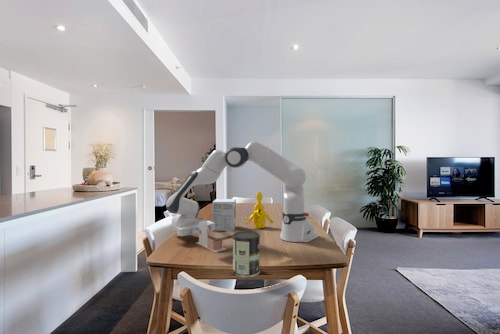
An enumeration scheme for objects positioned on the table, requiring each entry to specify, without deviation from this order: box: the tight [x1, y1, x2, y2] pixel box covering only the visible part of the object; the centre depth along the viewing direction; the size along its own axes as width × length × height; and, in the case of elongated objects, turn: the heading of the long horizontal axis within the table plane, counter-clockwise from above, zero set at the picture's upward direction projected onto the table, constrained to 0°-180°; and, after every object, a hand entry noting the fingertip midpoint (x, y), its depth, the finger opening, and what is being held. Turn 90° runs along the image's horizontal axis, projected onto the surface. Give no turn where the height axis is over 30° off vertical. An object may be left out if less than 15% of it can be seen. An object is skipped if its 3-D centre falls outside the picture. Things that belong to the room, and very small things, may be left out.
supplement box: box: [211, 198, 237, 232], centre depth 169 cm, size 13×13×18 cm
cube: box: [206, 236, 223, 251], centre depth 126 cm, size 5×5×5 cm
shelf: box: [207, 229, 243, 241], centre depth 120 cm, size 15×7×10 cm, turn 130°
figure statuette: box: [245, 191, 275, 230], centre depth 172 cm, size 18×8×22 cm, turn 96°
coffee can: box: [232, 231, 261, 278], centre depth 102 cm, size 10×10×14 cm
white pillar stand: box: [195, 221, 227, 253], centre depth 129 cm, size 6×18×11 cm, turn 40°
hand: (204, 231), depth 133 cm, fingers closed on white pillar stand, 3 cm apart
